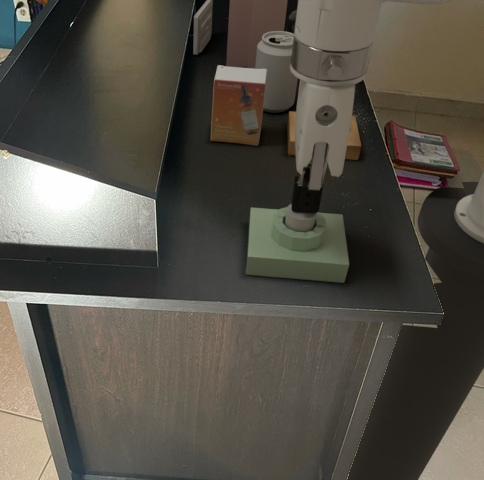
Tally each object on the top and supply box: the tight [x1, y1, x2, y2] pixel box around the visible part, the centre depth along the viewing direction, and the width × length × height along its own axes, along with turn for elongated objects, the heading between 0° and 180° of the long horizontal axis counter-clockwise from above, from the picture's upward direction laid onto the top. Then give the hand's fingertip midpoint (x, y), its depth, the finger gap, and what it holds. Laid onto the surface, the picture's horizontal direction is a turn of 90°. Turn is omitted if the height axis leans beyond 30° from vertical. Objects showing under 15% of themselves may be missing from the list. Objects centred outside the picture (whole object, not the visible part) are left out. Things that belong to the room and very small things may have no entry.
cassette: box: [192, 0, 214, 56], centre depth 120 cm, size 12×2×8 cm, turn 164°
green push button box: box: [245, 206, 350, 284], centre depth 72 cm, size 12×10×5 cm
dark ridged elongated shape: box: [285, 9, 297, 34], centre depth 127 cm, size 5×3×15 cm
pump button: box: [285, 203, 317, 232], centre depth 70 cm, size 4×4×2 cm
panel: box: [286, 110, 362, 161], centre depth 94 cm, size 11×10×3 cm
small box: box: [209, 64, 267, 147], centre depth 92 cm, size 8×6×10 cm
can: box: [255, 30, 299, 114], centre depth 99 cm, size 8×8×12 cm
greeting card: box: [225, 0, 289, 69], centre depth 109 cm, size 11×7×15 cm, turn 105°
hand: (304, 208), depth 69 cm, fingers closed
